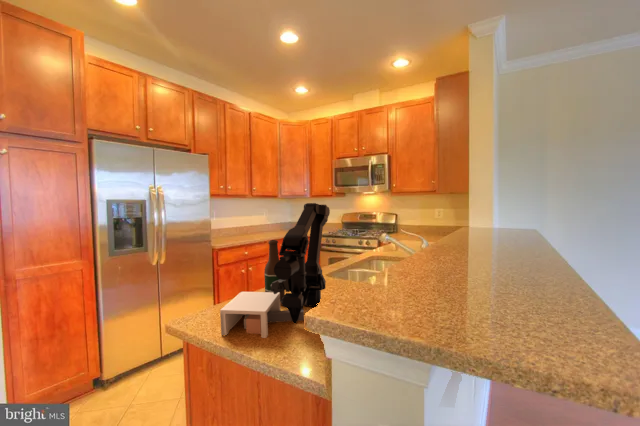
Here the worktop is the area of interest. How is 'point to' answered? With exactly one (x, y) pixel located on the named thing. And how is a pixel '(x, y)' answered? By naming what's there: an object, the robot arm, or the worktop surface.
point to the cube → (253, 324)
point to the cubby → (249, 309)
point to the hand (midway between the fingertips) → (297, 317)
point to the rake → (278, 316)
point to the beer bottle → (272, 267)
